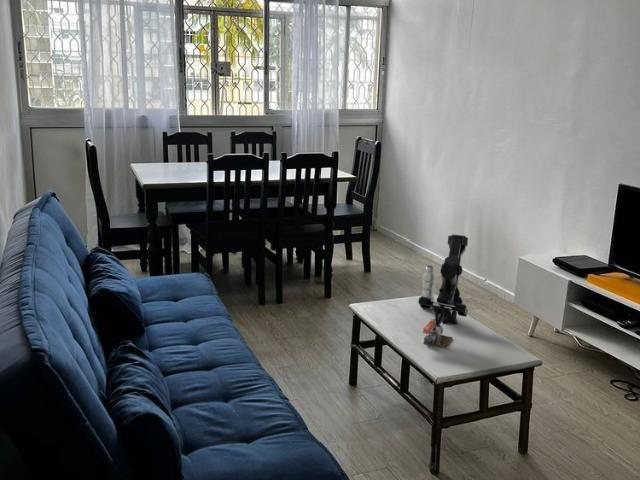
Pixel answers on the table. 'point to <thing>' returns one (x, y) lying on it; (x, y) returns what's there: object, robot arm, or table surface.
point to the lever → (430, 325)
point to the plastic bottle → (429, 283)
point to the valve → (437, 338)
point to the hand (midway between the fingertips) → (437, 325)
